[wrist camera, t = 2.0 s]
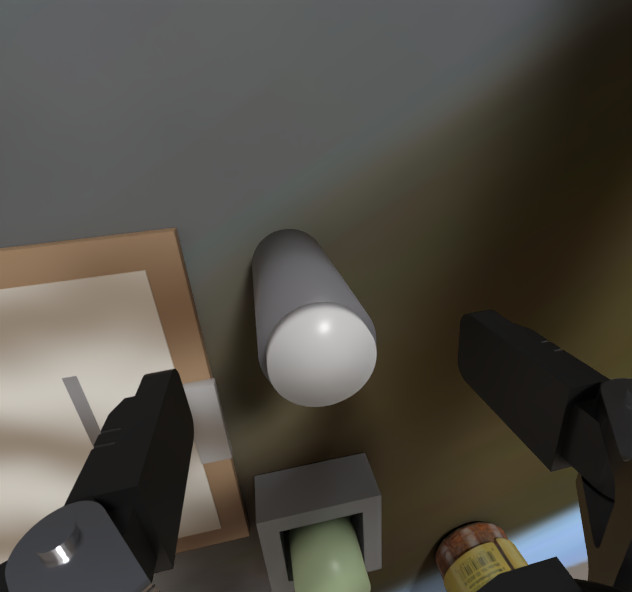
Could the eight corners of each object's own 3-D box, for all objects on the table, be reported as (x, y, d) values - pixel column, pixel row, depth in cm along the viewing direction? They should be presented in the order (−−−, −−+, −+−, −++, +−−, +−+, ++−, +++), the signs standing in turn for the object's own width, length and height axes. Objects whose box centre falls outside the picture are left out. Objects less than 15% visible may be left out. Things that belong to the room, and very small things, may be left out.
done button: (285, 517, 21) (292, 585, 18) (351, 502, 22) (370, 565, 18) (292, 559, 23) (300, 627, 20) (353, 543, 23) (371, 607, 20)
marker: (246, 228, 16) (249, 316, 8) (317, 219, 16) (384, 295, 9) (257, 294, 17) (268, 423, 10) (322, 284, 18) (384, 400, 10)
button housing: (254, 476, 22) (256, 524, 19) (364, 452, 23) (381, 494, 20) (269, 546, 25) (272, 596, 22) (367, 523, 26) (381, 568, 23)
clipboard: (-243, 276, 13) (-283, 288, 12) (181, 226, 15) (176, 233, 14) (-2, 585, 22) (-13, 606, 21) (252, 526, 24) (252, 543, 23)
